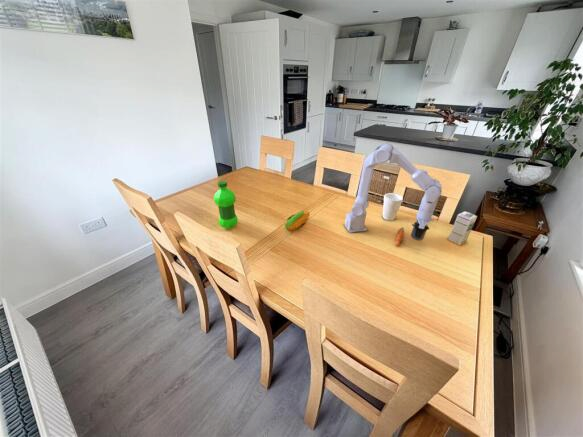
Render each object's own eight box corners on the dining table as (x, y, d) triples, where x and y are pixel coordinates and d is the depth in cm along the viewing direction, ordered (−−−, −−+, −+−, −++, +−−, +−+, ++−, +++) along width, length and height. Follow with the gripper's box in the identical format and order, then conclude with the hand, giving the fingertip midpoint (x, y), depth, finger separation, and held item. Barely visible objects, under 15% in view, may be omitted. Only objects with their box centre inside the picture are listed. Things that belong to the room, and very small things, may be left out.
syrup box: (459, 245, 111) (472, 219, 103) (447, 239, 115) (458, 213, 107) (465, 241, 113) (478, 216, 106) (453, 235, 117) (464, 210, 110)
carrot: (399, 229, 122) (400, 225, 121) (404, 230, 121) (405, 226, 120) (393, 246, 110) (395, 241, 109) (399, 247, 109) (401, 243, 108)
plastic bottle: (229, 219, 131) (223, 176, 118) (243, 225, 126) (237, 181, 112) (215, 227, 124) (206, 183, 111) (229, 233, 119) (221, 188, 106)
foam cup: (398, 222, 128) (404, 201, 121) (380, 220, 129) (385, 199, 122) (395, 214, 135) (401, 193, 129) (378, 212, 137) (383, 192, 130)
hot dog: (281, 218, 116) (303, 203, 130) (280, 231, 121) (302, 215, 134) (293, 224, 113) (314, 208, 127) (292, 236, 117) (313, 219, 131)
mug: (425, 242, 106) (429, 230, 103) (408, 237, 110) (411, 225, 106) (426, 235, 111) (430, 224, 107) (409, 231, 114) (413, 220, 110)
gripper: (436, 218, 95) (426, 244, 102) (437, 203, 106) (428, 228, 113) (417, 214, 98) (409, 240, 105) (420, 200, 109) (412, 224, 116)
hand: (418, 233), depth 109 cm, fingers closed on mug, 5 cm apart
